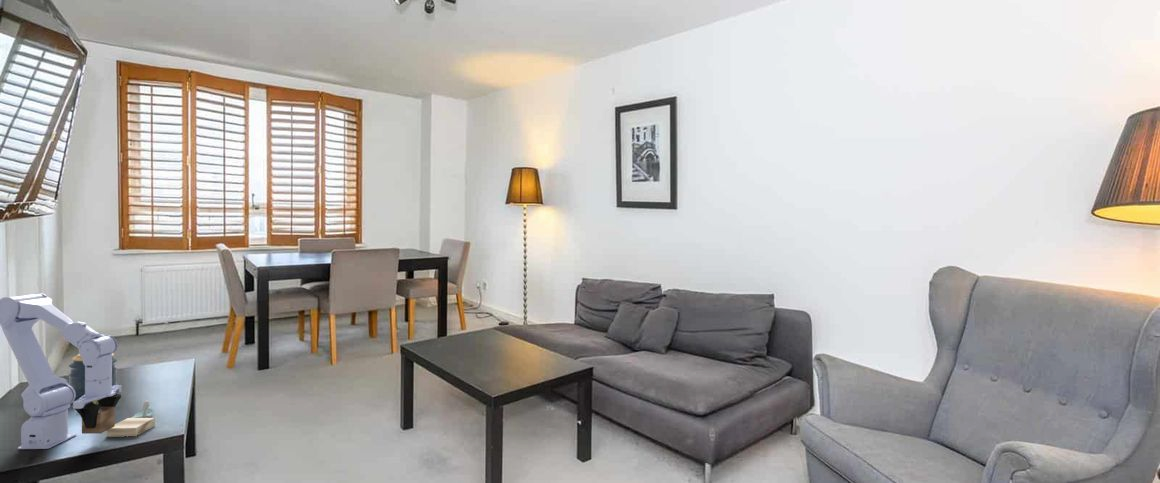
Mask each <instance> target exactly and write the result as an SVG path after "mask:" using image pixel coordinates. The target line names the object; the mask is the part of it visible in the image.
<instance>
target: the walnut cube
mask: <svg viewBox="0 0 1160 483" xmlns="http://www.w3.org/2000/svg"><path fill="white" fill-rule="evenodd" d="M115 411H116V406H115V407H100V408H99V411H98V414H97V422H96V426H95V428H86V427H85V425H84V422H83V420H82V419H81V434H84V435H85V434H91V435H92V434H94V435H95V434H103V433H106V432H107V430H109V429H111V428H113V427H115V424H116V422H115V419H116V417H115V416H116V415H115V414H116V413H115Z"/></svg>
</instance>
